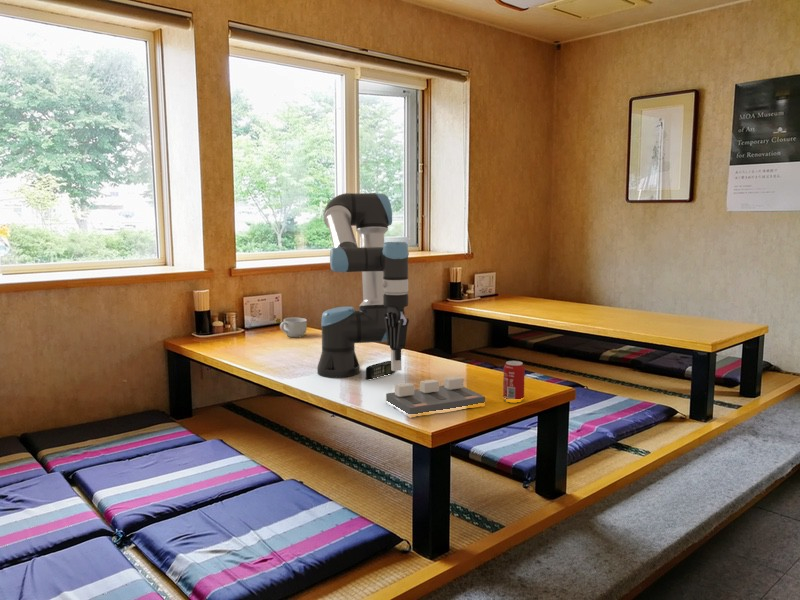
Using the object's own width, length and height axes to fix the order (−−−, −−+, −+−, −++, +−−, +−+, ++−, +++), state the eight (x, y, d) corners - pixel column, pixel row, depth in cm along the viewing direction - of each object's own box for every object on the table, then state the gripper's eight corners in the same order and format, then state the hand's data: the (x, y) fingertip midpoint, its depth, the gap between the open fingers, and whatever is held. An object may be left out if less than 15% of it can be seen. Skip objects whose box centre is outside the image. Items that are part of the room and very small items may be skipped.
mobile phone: (370, 367, 221) (399, 359, 232) (363, 366, 223) (393, 357, 234) (370, 381, 222) (399, 372, 233) (364, 380, 224) (393, 371, 235)
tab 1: (394, 394, 193) (394, 384, 193) (409, 392, 196) (409, 382, 195) (399, 396, 191) (399, 386, 190) (414, 394, 193) (414, 384, 192)
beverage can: (527, 400, 198) (528, 362, 197) (516, 405, 194) (517, 366, 192) (510, 396, 202) (511, 359, 201) (498, 401, 198) (499, 362, 196)
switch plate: (386, 403, 196) (386, 393, 195) (457, 392, 207) (457, 383, 206) (409, 418, 182) (409, 407, 181) (484, 406, 192) (485, 396, 192)
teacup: (299, 333, 306) (299, 316, 305) (311, 336, 298) (311, 319, 297) (273, 336, 297) (272, 319, 296) (285, 340, 289) (284, 322, 288)
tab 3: (444, 387, 201) (444, 377, 200) (458, 385, 203) (458, 376, 202) (449, 389, 198) (449, 380, 198) (463, 387, 200) (463, 378, 200)
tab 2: (420, 390, 197) (420, 381, 197) (434, 388, 199) (434, 379, 199) (424, 393, 194) (424, 383, 194) (439, 391, 197) (439, 381, 196)
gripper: (375, 291, 198) (376, 367, 201) (393, 296, 187) (394, 376, 190) (397, 290, 202) (398, 364, 205) (416, 294, 190) (416, 373, 193)
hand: (396, 370), depth 197 cm, fingers closed
